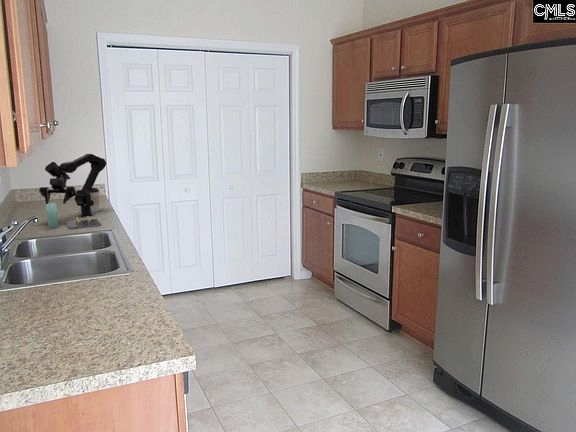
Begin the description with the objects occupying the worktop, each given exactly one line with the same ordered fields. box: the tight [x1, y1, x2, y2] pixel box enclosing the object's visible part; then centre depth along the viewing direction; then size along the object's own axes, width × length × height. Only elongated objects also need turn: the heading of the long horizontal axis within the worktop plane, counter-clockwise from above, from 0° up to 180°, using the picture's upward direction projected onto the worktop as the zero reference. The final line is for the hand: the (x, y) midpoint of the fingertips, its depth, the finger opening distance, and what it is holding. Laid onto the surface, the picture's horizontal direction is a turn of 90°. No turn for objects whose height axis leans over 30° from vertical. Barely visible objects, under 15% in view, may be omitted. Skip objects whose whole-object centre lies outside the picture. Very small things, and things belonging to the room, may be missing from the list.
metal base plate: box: [66, 216, 102, 230], centre depth 261 cm, size 16×16×4 cm
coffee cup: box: [90, 187, 100, 213], centre depth 302 cm, size 9×9×15 cm
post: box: [45, 202, 60, 230], centre depth 255 cm, size 5×5×13 cm
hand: (55, 203), depth 260 cm, fingers open, 9 cm apart
